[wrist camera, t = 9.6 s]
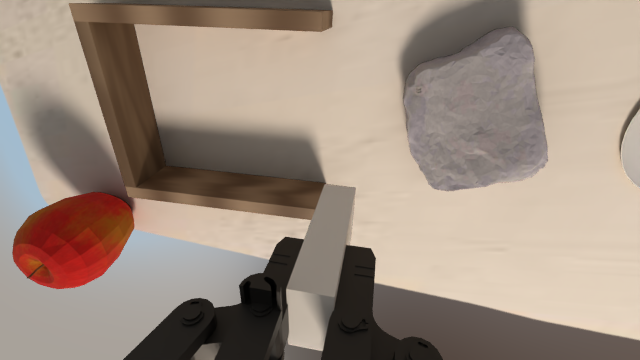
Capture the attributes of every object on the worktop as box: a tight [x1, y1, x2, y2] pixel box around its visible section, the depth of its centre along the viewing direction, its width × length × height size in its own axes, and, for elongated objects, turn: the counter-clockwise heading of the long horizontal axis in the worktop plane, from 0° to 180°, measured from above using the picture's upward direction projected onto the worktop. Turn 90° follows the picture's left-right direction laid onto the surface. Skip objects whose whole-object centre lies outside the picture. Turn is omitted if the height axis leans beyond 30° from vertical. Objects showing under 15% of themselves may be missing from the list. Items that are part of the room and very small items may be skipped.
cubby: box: [69, 3, 333, 220], centre depth 29 cm, size 19×17×5 cm
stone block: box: [403, 27, 548, 191], centre depth 27 cm, size 12×5×10 cm
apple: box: [13, 192, 134, 289], centre depth 35 cm, size 9×9×12 cm
